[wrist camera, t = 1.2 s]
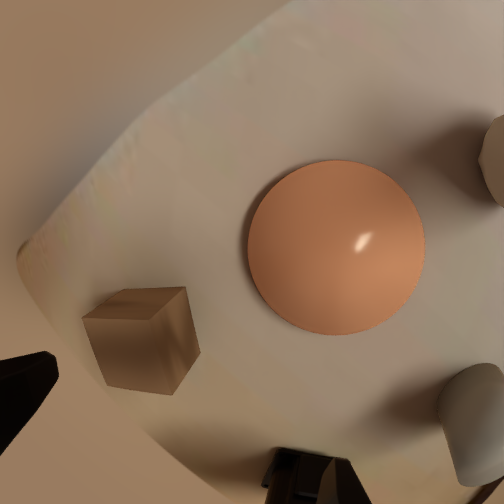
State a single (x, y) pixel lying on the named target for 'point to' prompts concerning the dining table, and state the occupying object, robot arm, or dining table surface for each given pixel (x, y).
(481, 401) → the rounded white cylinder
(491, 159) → the salt shaker
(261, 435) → the dining table surface
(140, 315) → the walnut block
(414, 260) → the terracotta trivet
